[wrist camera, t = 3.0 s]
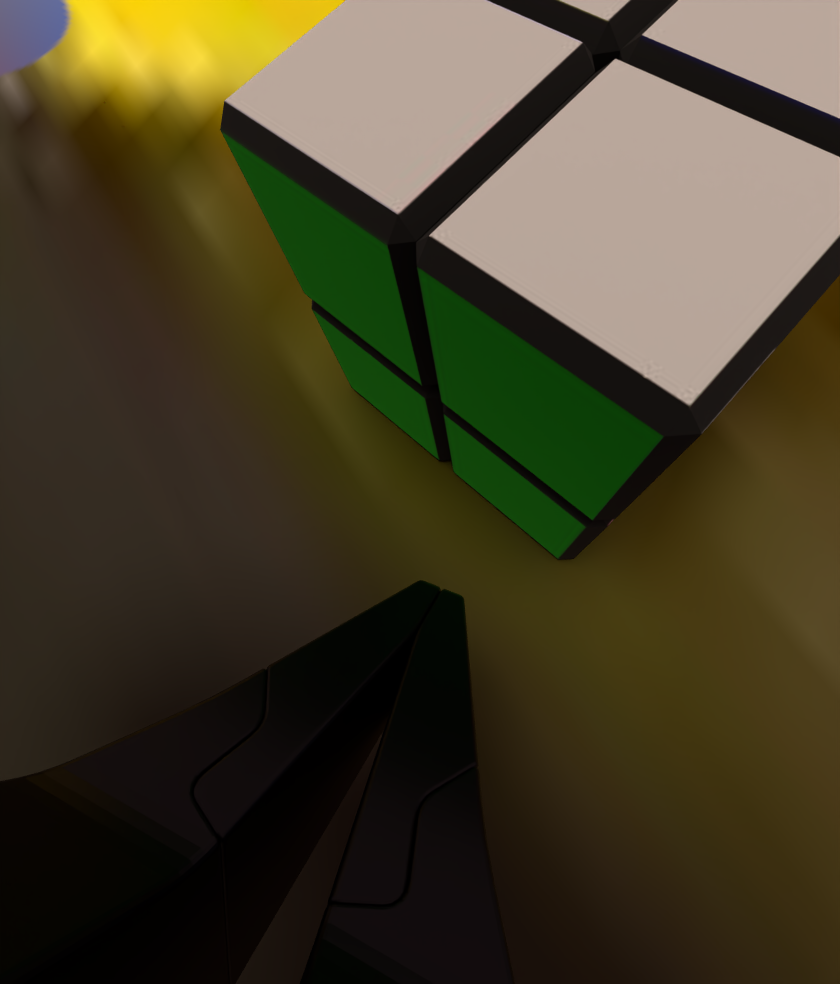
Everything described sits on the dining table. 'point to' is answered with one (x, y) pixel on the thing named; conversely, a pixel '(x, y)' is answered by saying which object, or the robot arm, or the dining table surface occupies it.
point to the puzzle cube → (553, 223)
